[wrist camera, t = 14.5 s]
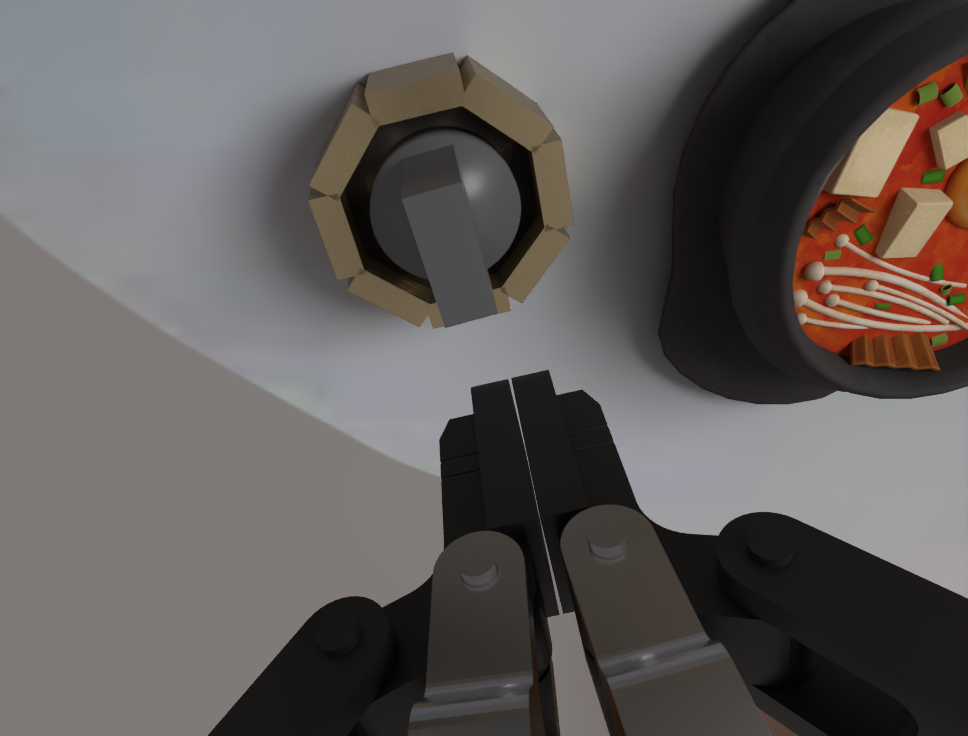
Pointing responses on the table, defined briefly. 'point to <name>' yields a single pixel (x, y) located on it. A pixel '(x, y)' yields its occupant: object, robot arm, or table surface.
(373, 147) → the octagonal wooden ring
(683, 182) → the casserole
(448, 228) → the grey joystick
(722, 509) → the table surface
